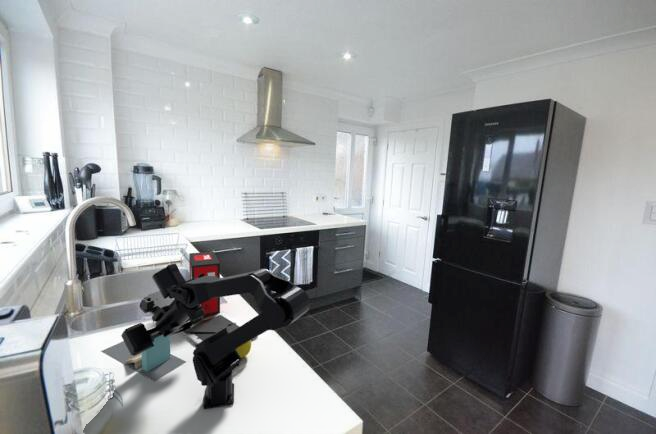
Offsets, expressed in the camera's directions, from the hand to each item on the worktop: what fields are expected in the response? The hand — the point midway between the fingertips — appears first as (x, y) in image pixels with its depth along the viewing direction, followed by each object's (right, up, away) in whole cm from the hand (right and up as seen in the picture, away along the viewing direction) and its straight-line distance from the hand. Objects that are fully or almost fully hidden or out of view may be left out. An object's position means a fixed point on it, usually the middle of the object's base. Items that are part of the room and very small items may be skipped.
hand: (152, 340), depth 79 cm
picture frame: (+11, -6, +16) cm, 21 cm away
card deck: (+1, -6, 0) cm, 6 cm away
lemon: (+22, -7, +5) cm, 24 cm away
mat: (-4, -6, +3) cm, 8 cm away
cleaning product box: (0, -2, +33) cm, 33 cm away
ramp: (-3, -6, +2) cm, 7 cm away
